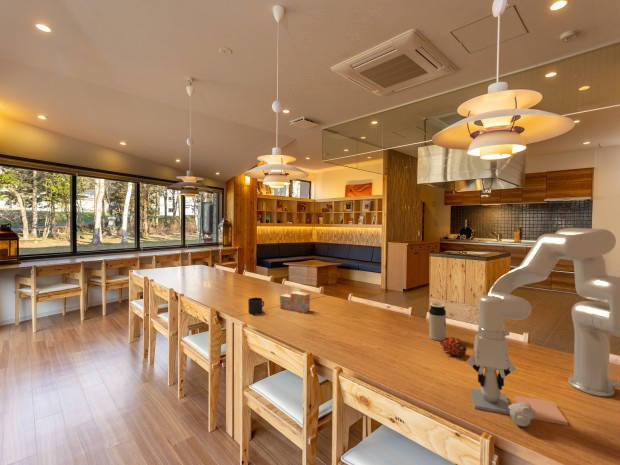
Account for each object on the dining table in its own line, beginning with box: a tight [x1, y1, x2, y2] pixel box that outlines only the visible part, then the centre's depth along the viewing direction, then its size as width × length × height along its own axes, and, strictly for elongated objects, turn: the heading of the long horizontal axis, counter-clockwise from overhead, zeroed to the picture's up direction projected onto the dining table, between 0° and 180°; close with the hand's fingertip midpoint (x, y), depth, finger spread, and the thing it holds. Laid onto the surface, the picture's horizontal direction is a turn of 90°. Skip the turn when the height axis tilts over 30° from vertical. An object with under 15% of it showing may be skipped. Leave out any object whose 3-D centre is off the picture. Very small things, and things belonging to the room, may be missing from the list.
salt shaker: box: [480, 367, 502, 403], centre depth 104 cm, size 6×6×13 cm
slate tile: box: [469, 388, 511, 416], centre depth 104 cm, size 11×11×1 cm
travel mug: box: [428, 302, 447, 342], centre depth 161 cm, size 8×8×18 cm
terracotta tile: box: [514, 395, 569, 426], centre depth 99 cm, size 11×11×1 cm
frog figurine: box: [508, 402, 536, 427], centre depth 93 cm, size 6×7×7 cm
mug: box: [247, 297, 265, 315], centre depth 212 cm, size 9×12×9 cm
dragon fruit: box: [439, 336, 468, 357], centre depth 142 cm, size 8×8×12 cm
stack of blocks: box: [279, 291, 311, 314], centre depth 217 cm, size 21×6×12 cm, turn 58°
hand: (490, 385), depth 104 cm, fingers open, 4 cm apart
